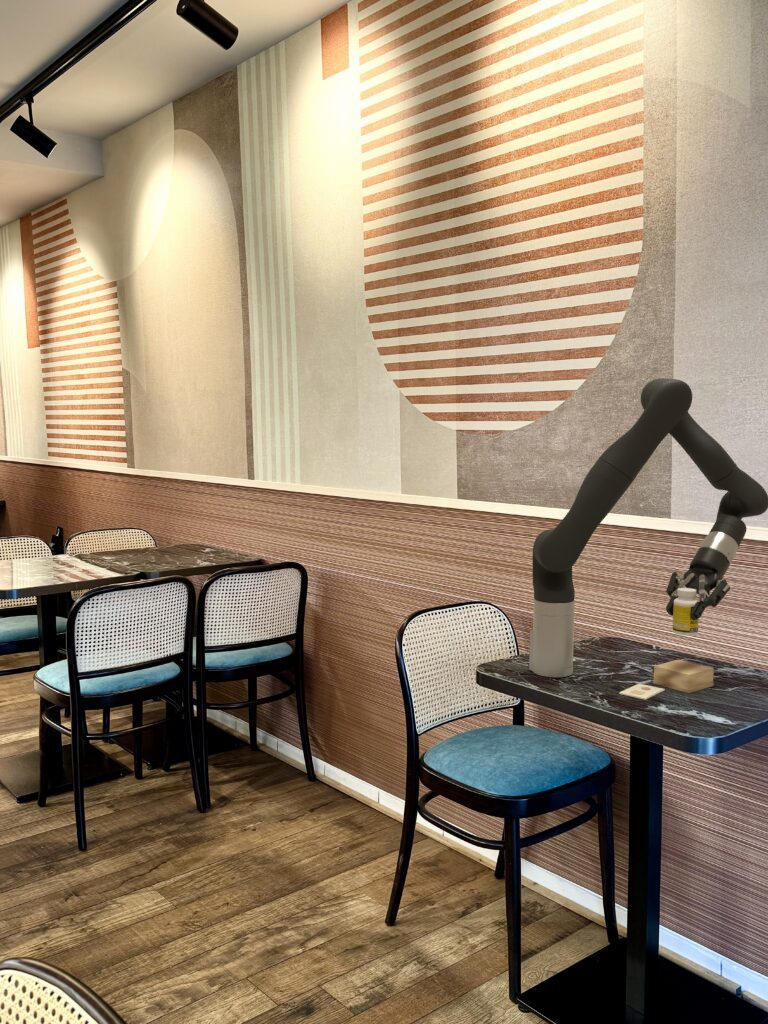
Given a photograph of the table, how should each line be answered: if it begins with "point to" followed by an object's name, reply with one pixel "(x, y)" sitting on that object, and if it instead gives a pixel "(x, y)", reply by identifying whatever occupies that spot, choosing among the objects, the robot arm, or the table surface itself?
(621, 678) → the table surface
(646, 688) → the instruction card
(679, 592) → the supplement bottle
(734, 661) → the table surface
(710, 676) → the beech block
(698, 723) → the table surface
